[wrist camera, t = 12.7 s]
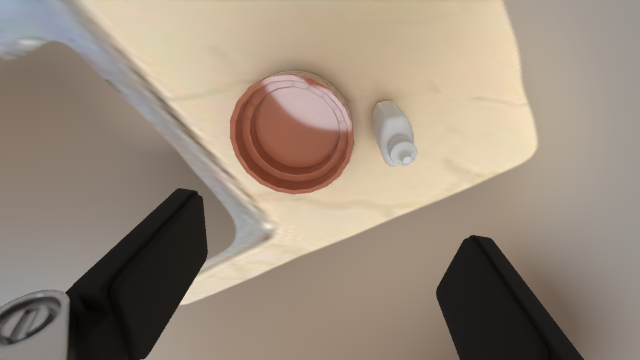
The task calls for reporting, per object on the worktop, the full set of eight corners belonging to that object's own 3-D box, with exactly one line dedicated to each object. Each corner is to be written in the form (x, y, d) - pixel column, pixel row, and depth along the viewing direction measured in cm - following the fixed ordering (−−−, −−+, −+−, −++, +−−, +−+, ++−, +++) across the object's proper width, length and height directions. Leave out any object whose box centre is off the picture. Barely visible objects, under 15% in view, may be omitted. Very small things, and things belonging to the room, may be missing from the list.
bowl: (246, 59, 30) (230, 62, 26) (363, 82, 31) (367, 89, 26) (242, 166, 37) (229, 182, 33) (338, 184, 37) (338, 202, 33)
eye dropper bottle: (411, 107, 32) (448, 139, 21) (390, 147, 34) (413, 194, 24) (379, 94, 31) (399, 121, 21) (360, 136, 34) (370, 179, 23)
